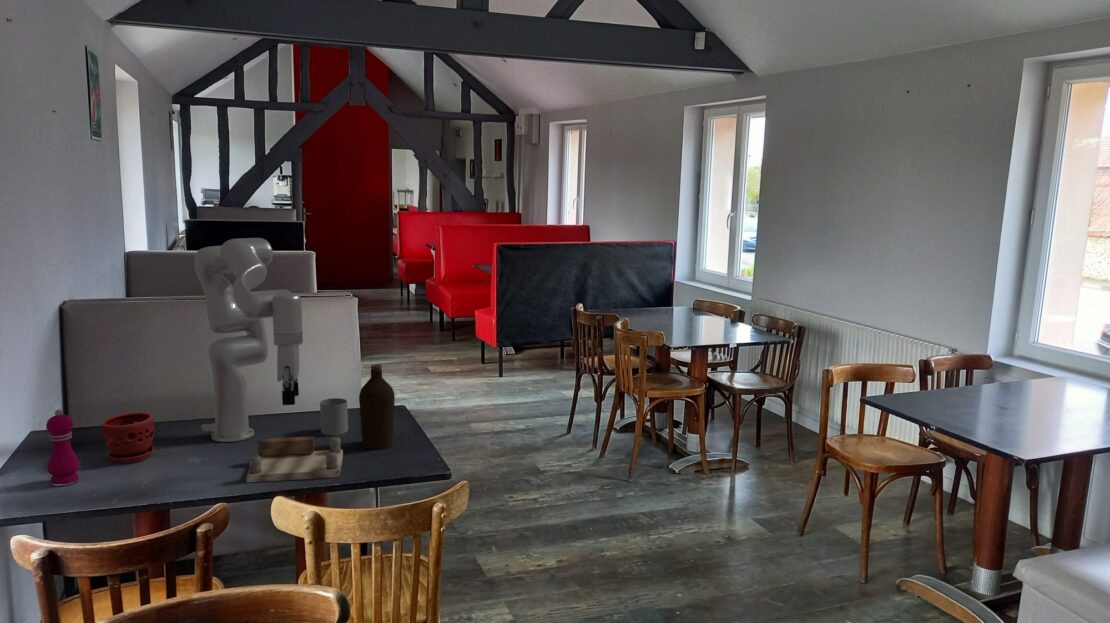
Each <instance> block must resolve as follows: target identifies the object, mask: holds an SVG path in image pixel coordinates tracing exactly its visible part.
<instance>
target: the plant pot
mask: <svg viewBox="0 0 1110 623" xmlns="http://www.w3.org/2000/svg"><path fill="white" fill-rule="evenodd" d="M154 424H155V423H154V416H153V415H152V414H150V413H147V412H130V413H129V412H128V413H123V414H119V415H115V416H111V417H108V418H106V419H105V420H103V421H102V422H101V433H102V437H103V441H104V443H105V447H107V449H108V451H109V452H110V453H109V455H108V458H109V459H110V460H111V461H112V462H113V463H114V462H115V463H117V464H118V463H121V464H123V463H124V464H129V463H133V462H134V463H137V462H139V461H143V460H146V459H147V458H149V457H151V456H152V455H153V454H154V452H155V446H152V445H153V444H152V443H153V440H154V434H155V426H154Z"/></svg>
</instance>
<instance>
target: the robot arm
mask: <svg viewBox="0 0 1110 623" xmlns="http://www.w3.org/2000/svg"><path fill="white" fill-rule="evenodd" d="M273 257H274V251H273V248H272V246H271V243H270V242H269V241H268V240H267V239H264V238H263V237H262V238H261V237H246V238H245V237H244V238H243V237H241V238H239V237H238V238H231V239H228V240H227V241H225V242H223V244H222V245H213V246H206V247H202V248H200V249H198V251H197V252H195V255H194V258H193V259H194V262H193V263H194V270H195V275H196V276H197V278H198V281H199V283H200V285H201V287H202V290H203V294H204V301H205V307H206V313H207V314H206V315H207V320H208V324H209V328H210V329H211V331H212V332H213V333H214V334H219V335H222V334H231V333H240V332H245V335H238V336H230V337H223V338H218V339H215V340H213V342H211V343H210V345H209V346H208V350H207V354H208V359H209V363H210V367H211V372H212V379H213V380H212V381H213V395H214V396H213V397H214V398H213V399H214V400H213V401H214V414H215V417H214V418H215V422H213V423H212V424H206V423H205V424H201V427H200V428H201V431H203V432H204V433H209V432H210V433H211V434H210V436H211V437H210V439H211V440H213V441H214V442H219V443H231V442H233V443H234V442H239V441H244V440H247V439H249V438H251V437H253V436H254V435H255V430H254V429H253V427H252V428H251V427H250V426H249V406H248V404H249V403H248V387H247V386H248V385H247V380H246V377H245V376H244V375H243V374H242V372H240V371H239V369H238V368H242V367H245V366H253V365H254V366H255V365H258V364H259V365H260V364H262V363H264V362H265V361H266V360H267V359H268V356H269V348H268V347H269V346H268V339H267V334H266V327H265V320H264V319H267V318H272V326H273V331H272V332H273V345H274V346H277V351H276V352H277V354H276V356H277V357H276V358H277V359H276V362H277V363H276V368H277V369H276V371H277V372H276V373H277V376H276V378H277V379H276V380H277V382H279V383H281V381H282V390H281V396H282V398H281V399H282V400H281V401H282V405H283V406H294V405H296V399H295V398H296V397H298V396H300V395H299V394H300V393H299V392H300V391H299V381H298V377H299V374H300V345H303V344H304V338H303V337H304V336H303V311H302V309H303V306H302V297H301V296H300V294H298V293H294V292H291V291H290V290H288V289H285V288H284V289H269V290H258V291H257V290H256V291H251V290H252V289H255V288H257V287H259V285H261V284H262V283H263V282H264V281H265V279H266V278H267V275H268V270H267V266H268V265H270V263H272V261H273ZM223 274H233V276H234V277H235V280H234V283H233V284H232V283H231V282H230V280H228V279H227V277H225V276H224V275H223Z"/></svg>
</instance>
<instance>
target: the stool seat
mask: <svg viewBox="0 0 1110 623" xmlns="http://www.w3.org/2000/svg"><path fill="white" fill-rule="evenodd" d="M343 458H344V450H343V449H341V438H340V437H338V436H337V437H335V436H333V437H331V438H329V450H327V449H324V450H314V453H304V454H285V455H266V456H262V455H258V453H257V454H256V455H255V456H251V457H249V458H248V464H249V466H248V467H249V470H248V471H247V474H246V483H258V482H263V483H264V482H277V481H278V482H280V481H292V480H293V481H294V480H295V481H296V480H312V479H327V478H328V479H331V478H340V476H341V475H340V474H341V471H342V470H341V469H342V465H343V464H342V463H343Z"/></svg>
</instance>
